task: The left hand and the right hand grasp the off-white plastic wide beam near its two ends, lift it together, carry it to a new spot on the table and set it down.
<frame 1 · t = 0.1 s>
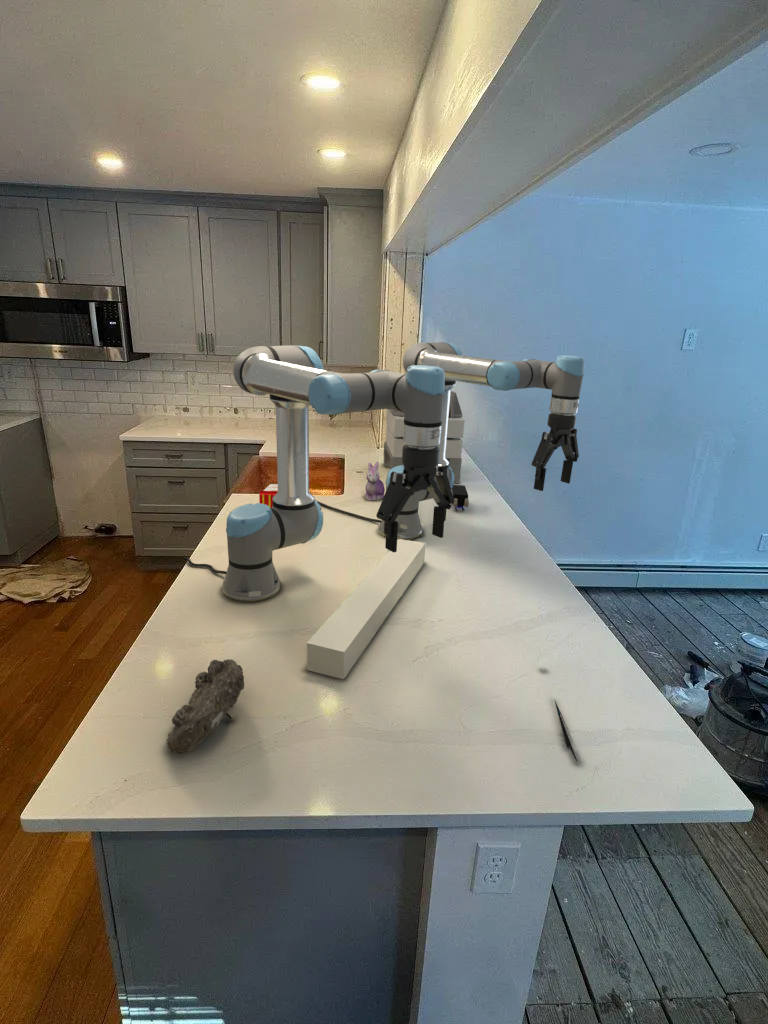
left hand: (414, 542, 121), 28 cm above the counter, tool pointing down, fingers open, 13 cm apart
right hand: (552, 486, 166), 28 cm above the counter, tool pointing down, fingers open, 13 cm apart
figurine character: (458, 507, 230), on the counter
transformer: (419, 473, 275), on the counter
wide beam: (376, 607, 150), on the counter
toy: (278, 516, 211), on the counter
figurine: (374, 497, 237), on the counter
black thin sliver: (557, 712, 114), on the counter
fossil: (212, 717, 108), on the counter
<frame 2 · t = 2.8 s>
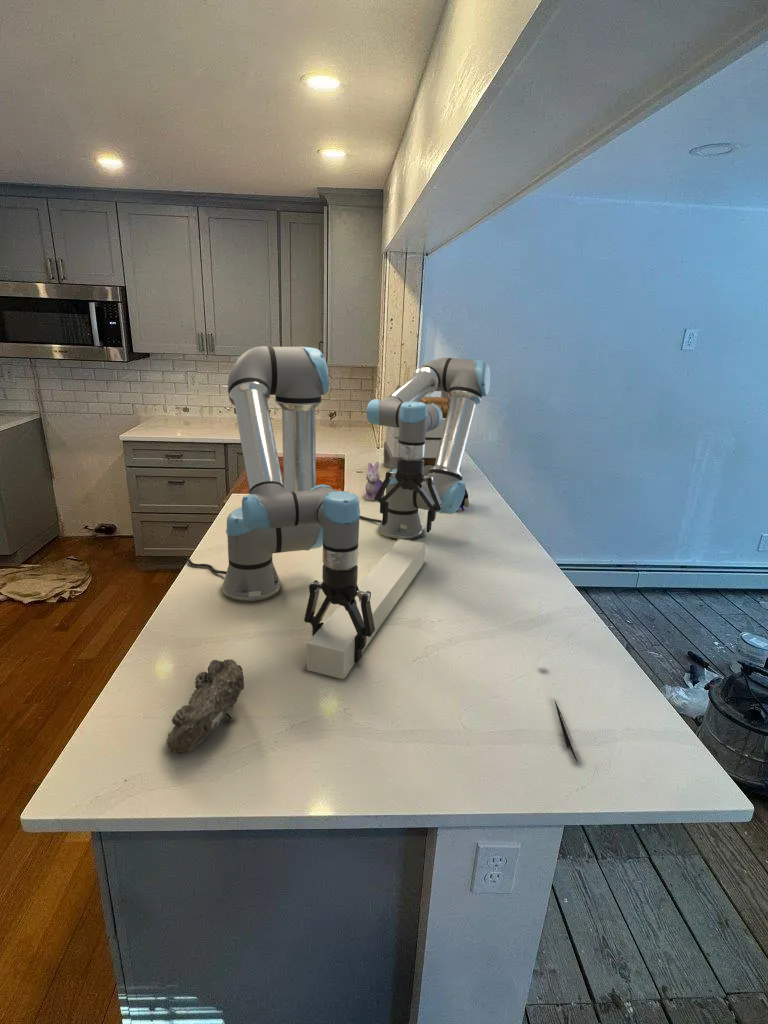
left hand: (338, 654, 128), 1 cm above the counter, tool pointing down, fingers closed on wide beam, 9 cm apart
right hand: (406, 527, 168), 14 cm above the counter, tool pointing down, fingers open, 13 cm apart
wide beam: (376, 607, 150), on the counter, touching left hand
everything else where it was.
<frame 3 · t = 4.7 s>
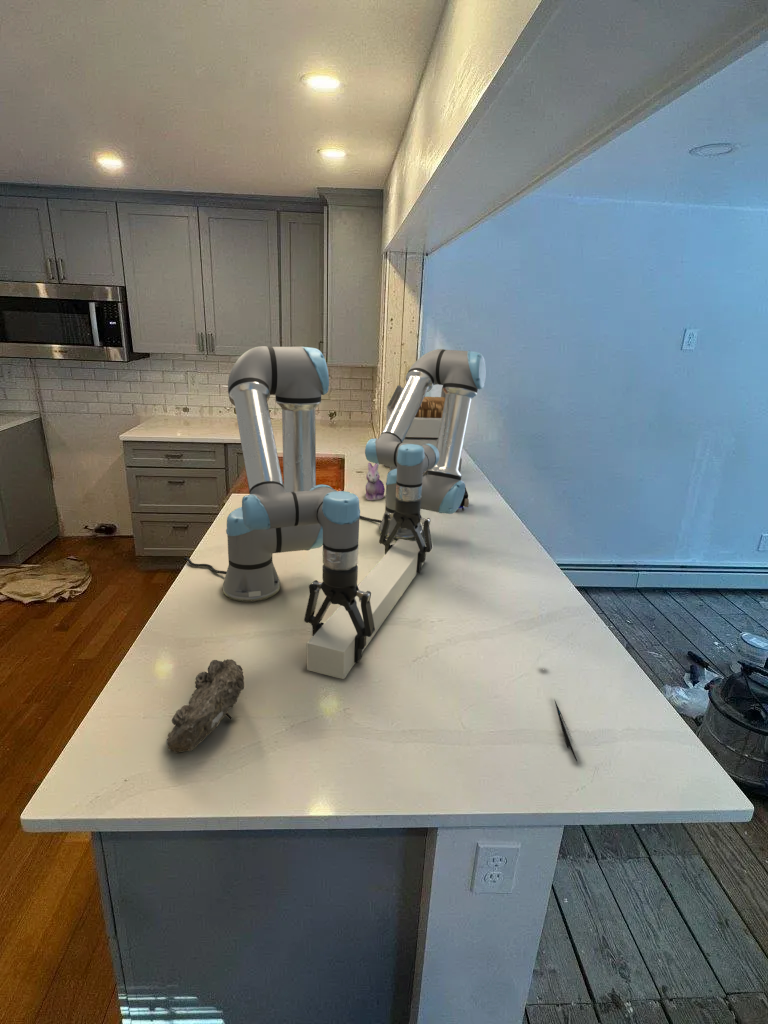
left hand: (338, 654, 128), 1 cm above the counter, tool pointing down, fingers closed on wide beam, 9 cm apart
right hand: (404, 568, 172), 1 cm above the counter, tool pointing down, fingers closed on wide beam, 9 cm apart
wide beam: (376, 607, 150), on the counter, touching right hand, left hand
everything else where it was.
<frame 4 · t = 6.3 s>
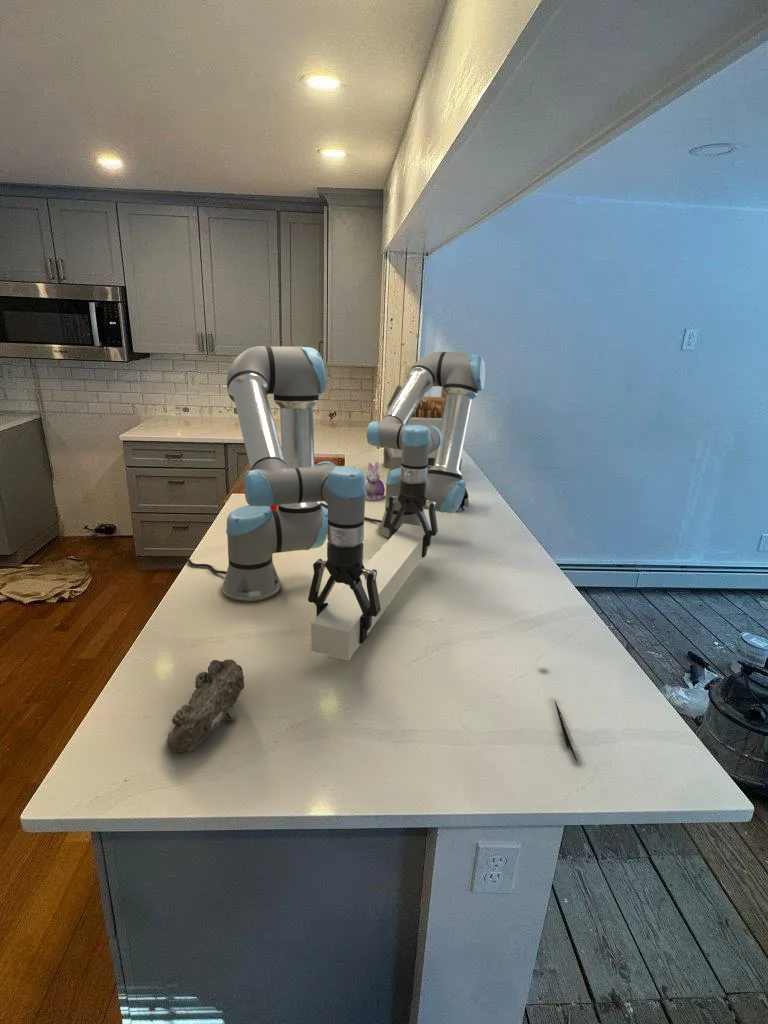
left hand: (343, 635, 125), 6 cm above the counter, tool pointing down, fingers closed on wide beam, 9 cm apart
right hand: (409, 552, 169), 6 cm above the counter, tool pointing down, fingers closed on wide beam, 9 cm apart
wide beam: (381, 590, 147), point 6 cm above the counter, touching right hand, left hand
everything else where it was.
when the left hand's fingers open (2 cm above the counter, at t = 9.7 s): wide beam drops 1 cm, on the counter.
when the right hand's fingers open (2 cm above the counter, at t = 9.7 s): wide beam drops 1 cm, on the counter.
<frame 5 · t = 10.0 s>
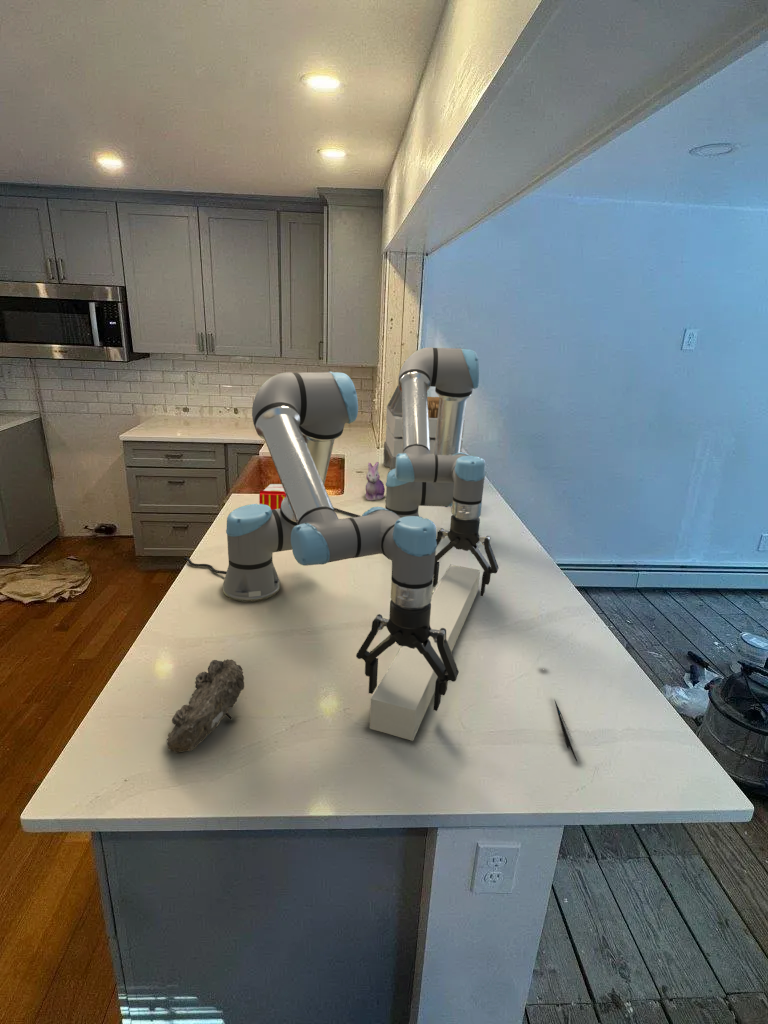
left hand: (404, 698, 111), 3 cm above the counter, tool pointing down, fingers open, 12 cm apart
right hand: (458, 589, 155), 3 cm above the counter, tool pointing down, fingers open, 12 cm apart
wide beam: (434, 646, 134), on the counter
everything else where it was.
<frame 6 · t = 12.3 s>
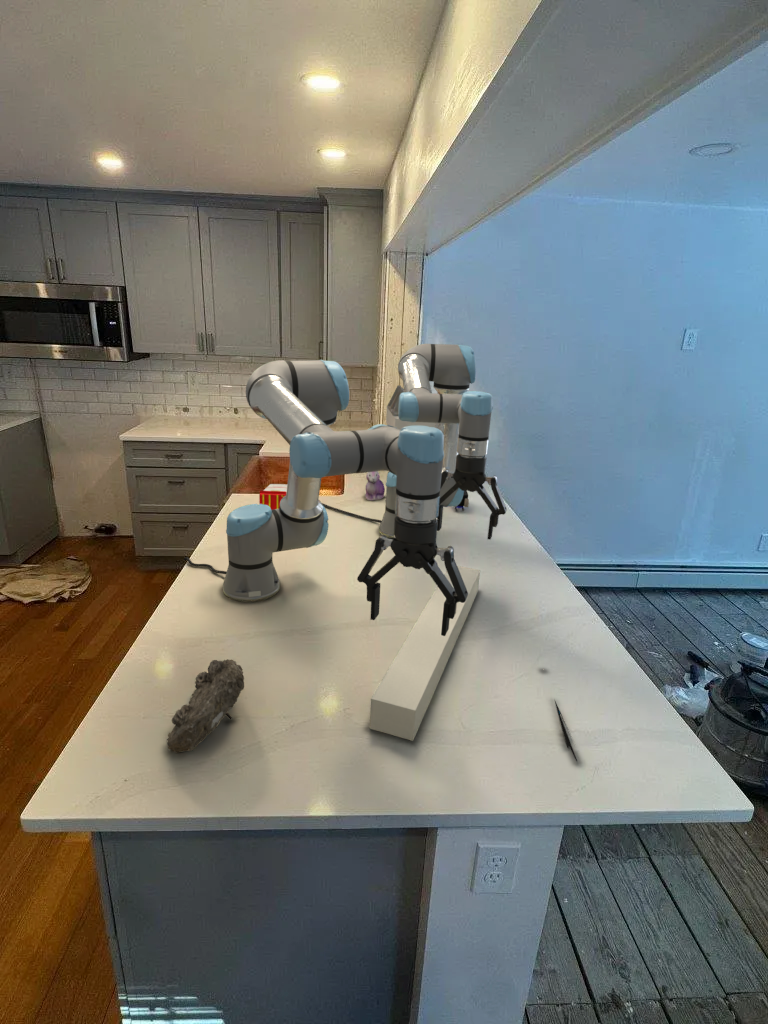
left hand: (409, 624, 105), 20 cm above the counter, tool pointing down, fingers open, 13 cm apart
right hand: (463, 533, 149), 20 cm above the counter, tool pointing down, fingers open, 13 cm apart
nothing on the counter moved.
at the end: wide beam inside the target area (0.3 cm from its centre), on the counter; wide beam tilted 0°; wide beam never tilted more than 1° during the clip; both hands held the wide beam at the same time; the left hand is holding nothing; the right hand is holding nothing; wide beam at rest at the end (0.0 cm/s) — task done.
